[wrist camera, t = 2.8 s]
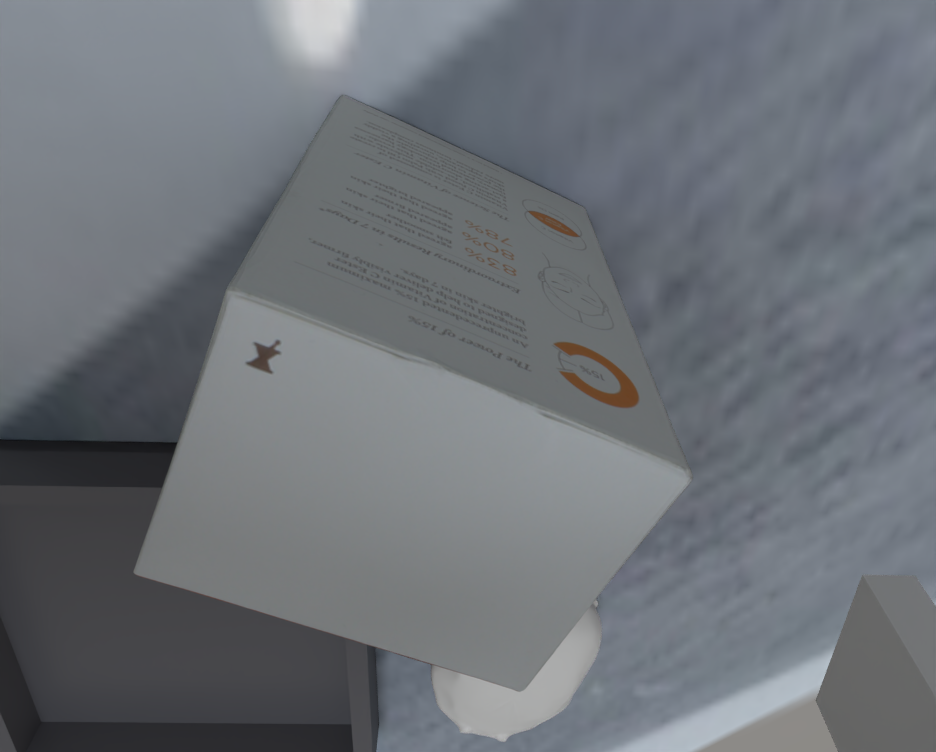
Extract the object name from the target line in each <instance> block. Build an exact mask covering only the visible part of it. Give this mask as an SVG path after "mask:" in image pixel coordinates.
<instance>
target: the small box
mask: <svg viewBox="0 0 936 752" xmlns="http://www.w3.org/2000/svg"><path fill="white" fill-rule="evenodd" d="M691 481H692V472H691V470H690V467H689V465H688V463H687V460H686V458H685V455H684V453H683V451H682V448H681V446H680V443H679V441H678V439H677V436H676V434H675V431H674V429H673V427H672V424H671V422H670V419H669V417H668V414H667V412H666V410H665V407H664V405H663V402H662V400H661V397H660V394H659V392H658V389H657V387H656V384H655V382H654V379H653V377H652V374H651V372H650V369H649V367H648V364H647V362H646V359H645V357H644V354H643V352H642V349H641V347H640V344H639V342H638V339H637V337H636V334H635V331H634V329H633V326H632V324H631V321H630V319H629V317H628V314H627V312H626V309H625V307H624V304H623V302H622V299H621V297H620V294H619V292H618V289H617V287H616V284H615V282H614V279H613V277H612V274H611V272H610V269H609V267H608V264H607V262H606V259H605V257H604V254H603V252H602V249H601V247H600V244H599V242H598V239H597V237H596V234H595V232H594V229H593V227H592V224H591V222H590V219H589V217H588V214H587V211H586V210H585V208H584V207H582V206H580V205H578V204H576V203H574V202H572V201H570V200H568V199H566V198H564V197H562V196H560V195H557V194H555V193H553V192H551V191H549V190H547V189H545V188H543V187H541V186H539V185H536V184H534V183H532V182H530V181H528V180H526V179H524V178H522V177H520V176H518V175H516V174H514V173H511V172H509V171H507V170H505V169H503V168H501V167H499V166H497V165H495V164H492V163H490V162H488V161H486V160H484V159H482V158H480V157H477V156H475V155H473V154H471V153H469V152H467V151H464V150H462V149H460V148H458V147H456V146H454V145H452V144H449V143H447V142H445V141H443V140H441V139H439V138H437V137H435V136H432V135H430V134H428V133H426V132H424V131H422V130H420V129H417V128H415V127H413V126H411V125H409V124H407V123H405V122H403V121H400V120H398V119H396V118H394V117H392V116H389V115H387V114H385V113H383V112H381V111H378V110H376V109H374V108H372V107H369V106H367V105H365V104H363V103H361V102H358V101H356V100H354V99H352V98H350V97H347V96H344V95H342V96H340V98H339V99H338V100H337V102H336V103H335V105H334V106H333V108H332V110H331V111H330V113H329V115H328V116H327V118H326V120H325V121H324V123H323V124H322V125H321V127H320V129H319V130H318V132H317V133H316V135H315V136H314V138H313V140H312V141H311V143H310V145H309V147H308V148H307V150H306V152H305V154H304V156H303V157H302V159H301V161H300V163H299V165H298V166H297V168H296V170H295V172H294V174H293V176H292V177H291V179H290V181H289V183H288V185H287V186H286V188H285V190H284V192H283V194H282V195H281V197H280V199H279V200H278V202H277V204H276V206H275V207H274V209H273V211H272V212H271V214H270V216H269V217H268V219H267V221H266V222H265V224H264V226H263V227H262V229H261V231H260V233H259V234H258V236H257V238H256V239H255V241H254V243H253V245H252V246H251V248H250V250H249V251H248V253H247V255H246V256H245V258H244V260H243V262H242V264H241V266H240V268H239V269H238V271H237V272H236V274H235V276H234V277H233V279H232V280H231V282H230V284H229V286H228V287H227V289H226V292H225V295H224V299H223V302H222V305H221V308H220V312H219V315H218V318H217V322H216V325H215V328H214V331H213V335H212V338H211V341H210V344H209V347H208V350H207V353H206V357H205V360H204V363H203V366H202V369H201V372H200V375H199V378H198V382H197V385H196V388H195V391H194V394H193V397H192V400H191V403H190V406H189V409H188V412H187V415H186V418H185V421H184V424H183V427H182V431H181V434H180V437H179V440H178V443H177V446H176V449H175V452H174V455H173V458H172V461H171V464H170V467H169V470H168V473H167V475H166V478H165V481H164V484H163V487H162V490H161V493H160V496H159V499H158V502H157V505H156V508H155V511H154V514H153V517H152V519H151V522H150V525H149V528H148V531H147V534H146V537H145V539H144V542H143V545H142V548H141V550H140V554H139V557H138V560H137V563H136V566H135V569H134V571H133V572H134V574H135V575H137V576H140V577H142V578H146V579H150V580H153V581H157V582H160V583H164V584H167V585H171V586H174V587H178V588H181V589H184V590H188V591H191V592H194V593H197V594H201V595H204V596H207V597H210V598H214V599H217V600H220V601H224V602H227V603H231V604H234V605H238V606H241V607H244V608H248V609H251V610H254V611H257V612H260V613H264V614H267V615H270V616H273V617H277V618H280V619H283V620H287V621H290V622H293V623H296V624H300V625H303V626H306V627H310V628H313V629H316V630H320V631H323V632H326V633H330V634H333V635H336V636H339V637H343V638H346V639H349V640H353V641H356V642H359V643H362V644H366V645H369V646H373V647H376V648H379V649H383V650H386V651H389V652H393V653H396V654H399V655H402V656H405V657H408V658H412V659H415V660H418V661H422V662H425V663H428V664H431V665H435V666H438V667H441V668H445V669H448V670H451V671H455V672H458V673H461V674H465V675H468V676H471V677H474V678H478V679H481V680H484V681H487V682H491V683H494V684H497V685H500V686H503V687H507V688H510V689H513V690H515V691H518V692H521V691H523V690H525V689H526V688H527V687H528V685H529V684H530V683H531V681H532V680H533V679H534V677H535V676H536V675H537V674H538V672H539V671H540V670H541V669H542V667H543V666H544V665H545V664H546V662H547V661H548V660H549V658H550V657H551V656H552V655H553V653H554V652H555V651H556V649H557V648H558V647H559V645H560V644H561V643H562V641H563V640H564V639H565V638H566V636H567V635H568V634H569V633H570V631H571V630H572V629H573V628H574V626H575V625H576V624H577V622H578V621H579V620H580V619H581V617H582V616H583V615H584V613H585V612H586V611H587V610H588V608H589V607H590V606H591V605H592V603H593V602H594V601H595V599H596V598H597V597H598V596H599V594H600V593H601V592H602V590H603V589H604V588H605V587H606V585H607V584H608V583H609V582H610V581H611V579H612V578H613V577H614V576H615V574H616V573H617V572H618V571H619V569H620V568H621V567H622V566H623V565H624V563H625V562H626V561H627V560H628V558H629V557H630V556H631V555H632V553H633V552H634V551H635V550H636V548H637V547H638V546H639V545H640V544H641V542H642V541H643V540H644V539H645V537H646V536H647V535H648V534H649V532H650V531H651V530H652V529H653V528H654V526H655V525H656V524H657V523H658V521H659V520H660V519H661V518H662V516H663V515H664V514H665V513H666V512H667V510H668V509H669V508H670V507H671V505H672V504H673V503H674V502H675V500H676V499H677V498H678V497H679V496H680V495H681V493H682V492H683V491H684V490H685V489H686V488H687V486H688V485H689V484H690V483H691Z"/></svg>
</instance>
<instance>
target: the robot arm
mask: <svg viewBox="0 0 936 752" xmlns="http://www.w3.org/2000/svg"><path fill="white" fill-rule="evenodd" d="M816 702H817V705H818V707H819V709H820V711H821V714H822V716H823V718H824V720H825V723H826V725H827V727H828V730H829V732H830V734H831V736H832V738H833V741H834V743H835V745H836V748H837V750H838V752H936V606H935V605H934V603H933V602H932V600H931V599H930V597H929V596H928V594H927V593H926V591H925V590H924V588H923V587H922V585H921V584H920V582H919V581H918V579H917V578H916V576H906V575H862V577H861V580H860V583H859V585H858V588H857V591H856V594H855V596H854V599H853V602H852V604H851V607H850V610H849V612H848V615H847V618H846V620H845V623H844V626H843V628H842V631H841V634H840V637H839V639H838V642H837V645H836V647H835V650H834V653H833V655H832V658H831V661H830V663H829V666H828V669H827V672H826V674H825V677H824V680H823V682H822V685H821V688H820V690H819V693H818V696H817V698H816Z"/></svg>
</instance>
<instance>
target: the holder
mask: <svg viewBox="0 0 936 752" xmlns="http://www.w3.org/2000/svg"><path fill="white" fill-rule="evenodd" d="M176 446H177V443H137V442H76V441H15V440H0V752H376V748H377V738H378V728H379V716H378V695H377V674H376V653H375V647H373V646H369V645H366V644H362V643H359V642H356V641H353V640H349V639H346V638H343V637H339V636H336V635H333V634H330V633H326V632H323V631H320V630H316V629H313V628H310V627H306V626H303V625H300V624H296V623H293V622H290V621H287V620H283V619H280V618H277V617H273V616H270V615H267V614H264V613H260V612H257V611H254V610H251V609H248V608H244V607H241V606H238V605H234V604H231V603H227V602H224V601H220V600H217V599H214V598H210V597H207V596H204V595H201V594H197V593H194V592H191V591H188V590H184V589H181V588H178V587H174V586H171V585H167V584H164V583H160V582H157V581H153V580H150V579H146V578H142V577H140V576H137V575H135V574H134V572H133V571H134V569H135V566H136V563H137V560H138V557H139V554H140V550H141V548H142V545H143V542H144V539H145V537H146V534H147V531H148V528H149V525H150V522H151V519H152V517H153V514H154V511H155V508H156V505H157V502H158V499H159V496H160V493H161V490H162V487H163V484H164V481H165V478H166V475H167V473H168V470H169V467H170V464H171V461H172V458H173V455H174V452H175V449H176Z"/></svg>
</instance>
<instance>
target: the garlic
mask: <svg viewBox="0 0 936 752" xmlns="http://www.w3.org/2000/svg"><path fill="white" fill-rule="evenodd" d="M597 606H598V602H597V600H596V599H595V601H594V602H593V603H592V605H591V606H590V607H589V608H588V610H587V611H586V612H585V613H584V615H583V616H582V617H581V619H580V620H579V621H578V622H577V624H576V625H575V626H574V628H573V629H572V630H571V631H570V633H569V634H568V635H567V636H566V638H565V639H564V640H563V641H562V643H561V644H560V645H559V647H558V648H557V649H556V651H555V652H554V653H553V655H552V656H551V657H550V658H549V660H548V661H547V662H546V664H545V665H544V666H543V667H542V669H541V670H540V671H539V672H538V674H537V675H536V676H535V677H534V679H533V680H532V681H531V683H530V684H529V685H528V687H527V688H526V689H525V690H523V691H521V692H518V691H515V690H513V689H510V688H507V687H503V686H500V685H497V684H494V683H491V682H487V681H484V680H481V679H478V678H474V677H471V676H468V675H465V674H461V673H458V672H455V671H451V670H448V669H445V668H441V667H438V666H435V665H431V680H432V685H433V689H434V692H435V697H436V702H437V705H438V706H439V708H440V709H441V710H442V711H443V712H444V713H445V714H446V715H447V716H448V717H449V718H450V719H451V720H452V721H453V722H454V723H455V724H456V725H457V726H458V727H459V729H460V732H461V733H474V734H479V735H483V736H488V737H492V738H496V739H497V740H499V741H503V742H505V741H506V740H507V738H508V737H509V736H511V735H513V734H515V733H518V732H522V731H526V730H529V729H532V728H534V727H535V726H537V725H538V724H540V723H542V722H545V721H547V720H548V719H550V718H552V717H554V716H555V715H557V714H558V713H560V712H561V711H563V710H564V709H565V708H566V707H567V706H568V704H569V703H570V701H571V699H572V696H573V694H574V693H575V692H576V690H577V689H578V687H579V686H580V684H581V682H582V681H583V679H584V677H585V676H586V674H587V672H588V671H589V669H590V668H591V666H592V664H593V663H594V661H595V659H596V657H597V654H598V651H599V648H600V643H601V637H602V624H601V620H600V617H599V615H598V613H597V610H596V607H597Z"/></svg>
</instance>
